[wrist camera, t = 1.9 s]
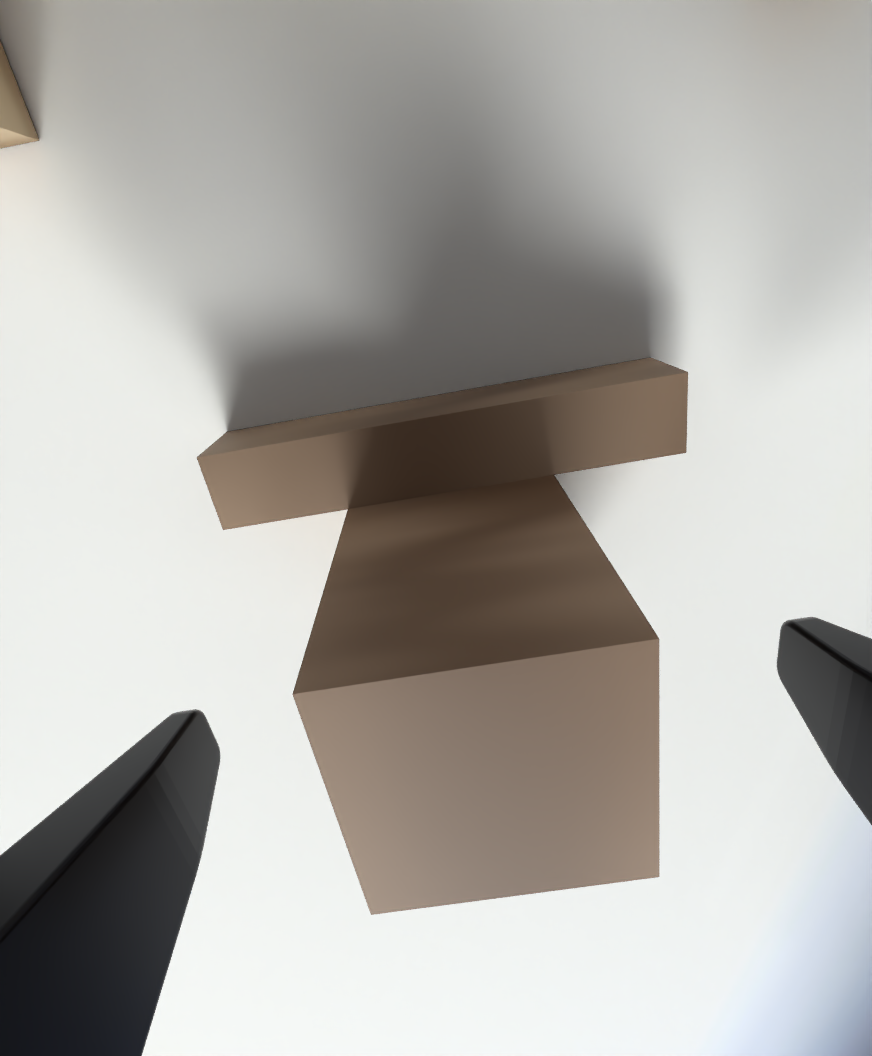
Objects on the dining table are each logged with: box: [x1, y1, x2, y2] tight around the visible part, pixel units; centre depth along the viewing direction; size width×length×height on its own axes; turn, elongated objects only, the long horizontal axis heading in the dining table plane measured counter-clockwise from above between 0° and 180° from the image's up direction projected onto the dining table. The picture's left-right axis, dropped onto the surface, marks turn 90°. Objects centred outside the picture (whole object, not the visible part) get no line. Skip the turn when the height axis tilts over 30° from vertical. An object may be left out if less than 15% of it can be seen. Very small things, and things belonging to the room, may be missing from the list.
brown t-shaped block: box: [197, 357, 688, 915], centre depth 10 cm, size 9×6×7 cm, turn 100°
